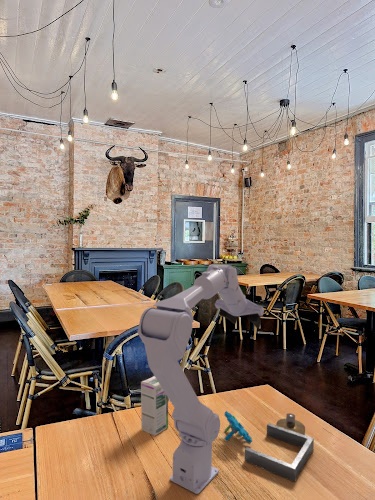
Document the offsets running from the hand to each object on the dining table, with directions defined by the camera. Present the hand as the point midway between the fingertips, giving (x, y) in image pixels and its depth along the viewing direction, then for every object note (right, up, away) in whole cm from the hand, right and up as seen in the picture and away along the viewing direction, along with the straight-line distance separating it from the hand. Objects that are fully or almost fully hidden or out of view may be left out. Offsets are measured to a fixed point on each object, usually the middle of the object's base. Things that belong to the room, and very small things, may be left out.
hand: (247, 323), depth 104 cm
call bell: (+12, -31, -4) cm, 33 cm away
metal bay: (+6, -31, -14) cm, 35 cm away
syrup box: (-28, -31, -3) cm, 42 cm away
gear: (-4, -31, -7) cm, 32 cm away
